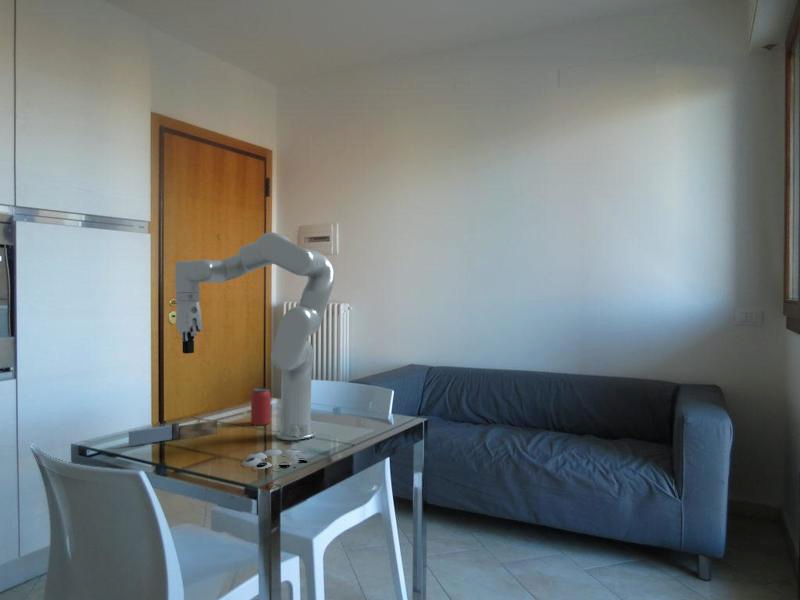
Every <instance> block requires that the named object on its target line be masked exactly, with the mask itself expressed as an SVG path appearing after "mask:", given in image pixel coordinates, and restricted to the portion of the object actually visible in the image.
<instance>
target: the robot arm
mask: <svg viewBox="0 0 800 600" xmlns="http://www.w3.org/2000/svg"><path fill="white" fill-rule="evenodd" d="M270 265H271V266H272V265H276V266H278V267H279V268H280V269H281V268H282V269H283V270H285V271H288V272H289V273H292V274H294V275H296V276H300V277H307V278H308V280H307V282H306V284H305V286H304V289H303V291H302V292H301V293H302V294H301V297H300V300H299V302H298V305H297V306H294V307H292V308H290V309H288V310H287V311H285V313H284V315H283V316H282V319H281V321H280V323H279V327H278V329H277V332H276V336H275V338H274V342H273V344H272V348H271V352H270V358H271V362H272V364H273V366H274V367H275V368H276V369H278V370H279V371H282V372H281V381H280V382H281V383H280V429H279V430H277V431H276V432H275V437H276V438H277V439H279V440H282V441H299V440H298V439H304V438H308V437H311V436H314V435H315V434H316V430H315V429H312V376H313V375H312V374H313V365H314V364H313V363H314V355H315V354H314V348H313V346H312V344H311V342H310V341H308V338H309V336H312V335H314V334H316V333H317V332H318V331H319V329H320V328H321V324H322V321H323V318H324V315H325V312H326V309H327V306H328V303H329V299H330V296H331V293H332V290H333V287H334V283H335V270H334V267H333V265H332V263H331V262H330V260H329V259H328V257H326V256H325V255H324V254H322V252H319V251H317V250H313V249H309V248H304V247H302V246H300V245H299V244H296V243H294V242H292V240H291V239H290V238H289V237H288V236H286V235H284V234H281V233H278V232H272V231H271V232H266V233H263V234H262V235H260V236H259V238H258V239H257V240H256V241H253V242H251V243H248V244H245V245H242V246H240V248H239V250H238V253H236V254H235V255H232V256H230V257H227V258H223V259H221V260H216V259H215V260H214V259H213V260H212V259H198V260H197V259H196V260H178V261H176V262H175V266H174V273H175V274H174V275H175V278H174V280H175V283H174V285H175V287H174V288H175V291H174V292H175V303H176V313H175V314H176V316H175V317H176V318H175V319H176V320H175V321H176V322H175V323H176V325H175V326H176V327H175V328H176V330H177V331H178V332H179V334H180V336H181V340H182V341H181V342H182V343H181V344H182V354H194V353H195V339H196V338H195V337H196V336H198V332H199V333H200V332H201V331H202V329H203V327H202V326H203V324H202V309H201V305H200V302H201V301H200V298H201V297H200V296H201V295H200V293H201V292H200V287H201V285H200V283H207V284H208V283H209V284H210V283H211V284H212V283H213V284H214V283H215V284H216V283H218V284H220V283H225V282H228V281H231V280H235V279H238V278H241V277H242V276H245V275H246V274H249V273H251V272H252V271H256V270H258V269H261V268H264V267H267V266H270ZM316 435H317V434H316ZM316 435H315V436H316ZM315 436H314V437H315Z"/></svg>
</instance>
